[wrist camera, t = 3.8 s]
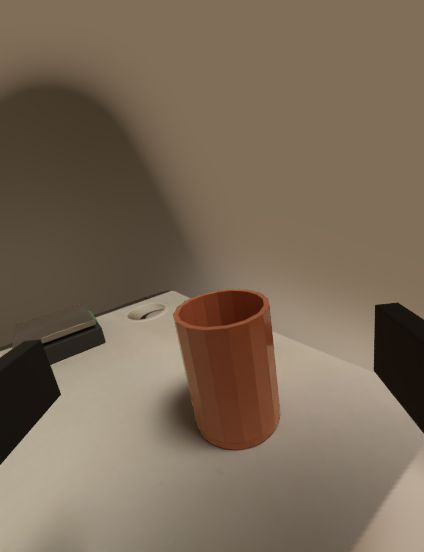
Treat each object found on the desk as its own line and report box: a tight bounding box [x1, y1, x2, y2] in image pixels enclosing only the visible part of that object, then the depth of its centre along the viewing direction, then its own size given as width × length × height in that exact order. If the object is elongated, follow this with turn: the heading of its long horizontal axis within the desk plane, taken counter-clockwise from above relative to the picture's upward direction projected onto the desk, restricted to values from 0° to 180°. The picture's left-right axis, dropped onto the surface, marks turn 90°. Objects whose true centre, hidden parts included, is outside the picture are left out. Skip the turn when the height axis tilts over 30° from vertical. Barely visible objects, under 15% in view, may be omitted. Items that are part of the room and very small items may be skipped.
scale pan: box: [12, 304, 96, 349], centre depth 40 cm, size 10×10×1 cm
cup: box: [173, 289, 280, 450], centre depth 22 cm, size 7×7×10 cm
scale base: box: [43, 309, 106, 364], centre depth 41 cm, size 11×11×3 cm
